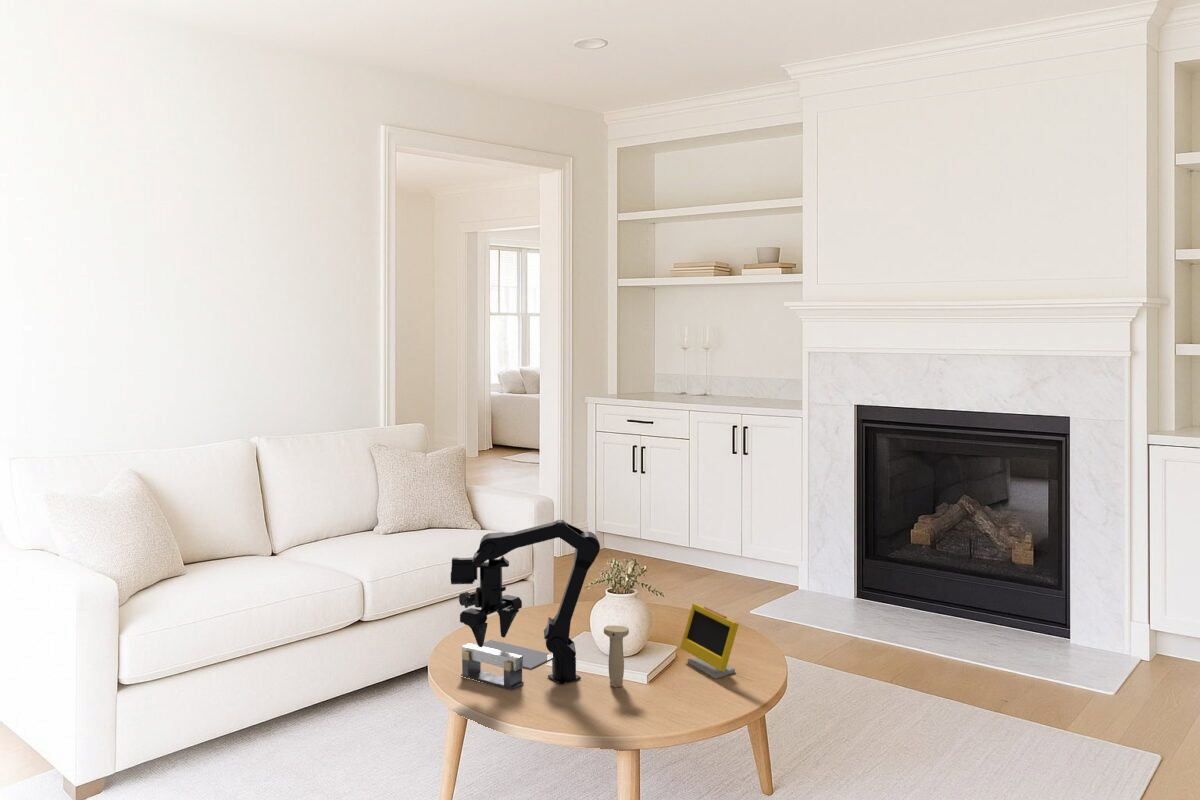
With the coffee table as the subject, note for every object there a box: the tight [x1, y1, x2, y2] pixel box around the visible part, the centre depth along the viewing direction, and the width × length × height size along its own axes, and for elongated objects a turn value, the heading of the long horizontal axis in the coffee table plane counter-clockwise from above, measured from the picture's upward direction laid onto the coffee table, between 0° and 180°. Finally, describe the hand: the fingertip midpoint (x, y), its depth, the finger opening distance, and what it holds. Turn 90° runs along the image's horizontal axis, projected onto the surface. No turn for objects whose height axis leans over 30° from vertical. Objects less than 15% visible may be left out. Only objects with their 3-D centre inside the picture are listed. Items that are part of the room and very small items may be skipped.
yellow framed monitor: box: [680, 602, 739, 680], centre depth 255 cm, size 20×8×16 cm, turn 27°
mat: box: [483, 639, 549, 671], centre depth 267 cm, size 24×12×1 cm, turn 57°
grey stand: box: [460, 651, 525, 692], centre depth 247 cm, size 17×5×7 cm, turn 57°
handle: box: [603, 624, 630, 688], centre depth 243 cm, size 5×6×15 cm
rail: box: [461, 642, 523, 671], centre depth 247 cm, size 18×3×3 cm, turn 57°
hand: (492, 642), depth 246 cm, fingers open, 9 cm apart
